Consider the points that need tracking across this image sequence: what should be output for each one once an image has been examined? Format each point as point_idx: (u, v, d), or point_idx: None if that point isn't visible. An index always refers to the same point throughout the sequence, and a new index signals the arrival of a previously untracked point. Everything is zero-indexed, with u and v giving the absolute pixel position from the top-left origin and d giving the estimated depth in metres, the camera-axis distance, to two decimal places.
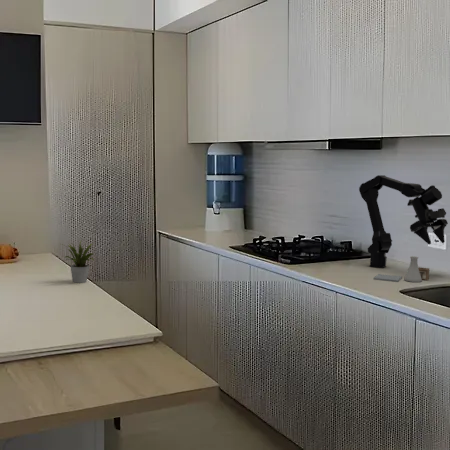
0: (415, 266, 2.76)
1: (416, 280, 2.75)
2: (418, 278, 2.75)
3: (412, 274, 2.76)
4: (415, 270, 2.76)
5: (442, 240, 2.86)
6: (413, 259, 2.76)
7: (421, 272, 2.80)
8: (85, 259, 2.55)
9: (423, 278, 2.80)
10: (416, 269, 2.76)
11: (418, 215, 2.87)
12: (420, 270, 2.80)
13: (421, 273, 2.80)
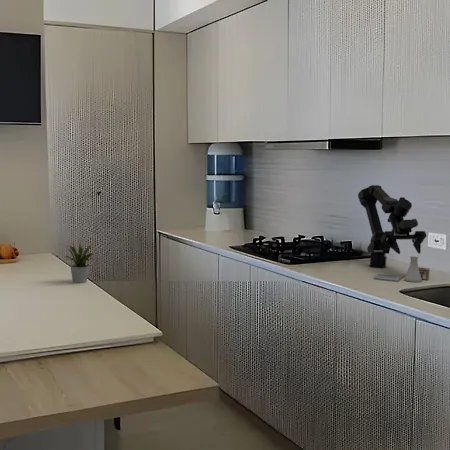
0: (415, 266, 2.76)
1: (416, 280, 2.75)
2: (418, 278, 2.75)
3: (412, 274, 2.76)
4: (415, 270, 2.76)
5: (418, 251, 2.82)
6: (413, 259, 2.76)
7: (421, 272, 2.80)
8: (85, 259, 2.55)
9: (423, 278, 2.80)
10: (416, 269, 2.76)
11: (393, 228, 2.89)
12: (420, 270, 2.80)
13: (421, 273, 2.80)
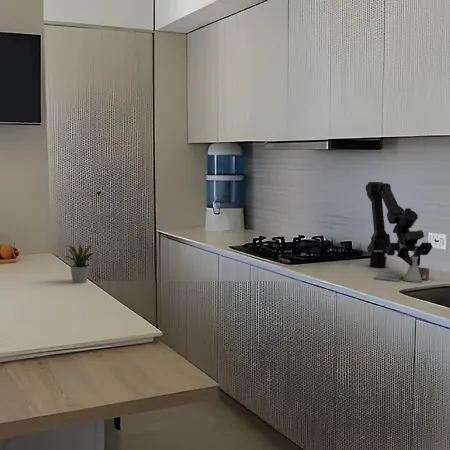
0: (415, 266, 2.76)
1: (416, 280, 2.75)
2: (418, 278, 2.75)
3: (412, 274, 2.76)
4: (415, 269, 2.76)
5: (418, 263, 2.77)
6: (413, 259, 2.76)
7: (421, 272, 2.80)
8: (85, 259, 2.55)
9: (423, 278, 2.80)
10: (416, 269, 2.76)
11: (398, 240, 2.84)
12: (420, 270, 2.80)
13: (421, 273, 2.80)
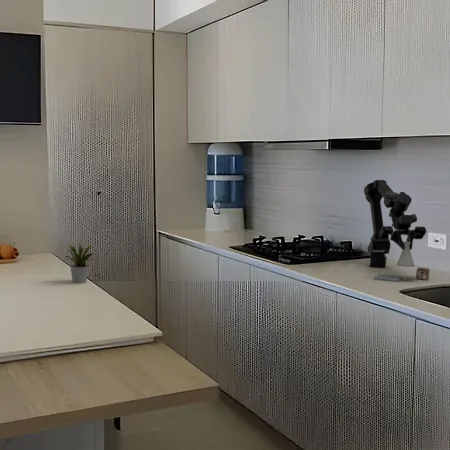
0: (407, 251, 2.76)
1: (408, 265, 2.75)
2: (410, 263, 2.75)
3: (404, 259, 2.76)
4: (408, 254, 2.76)
5: (410, 247, 2.77)
6: (405, 244, 2.76)
7: (421, 272, 2.80)
8: (85, 259, 2.55)
9: (423, 278, 2.80)
10: (408, 254, 2.76)
11: (393, 223, 2.85)
12: (420, 270, 2.80)
13: (421, 273, 2.80)
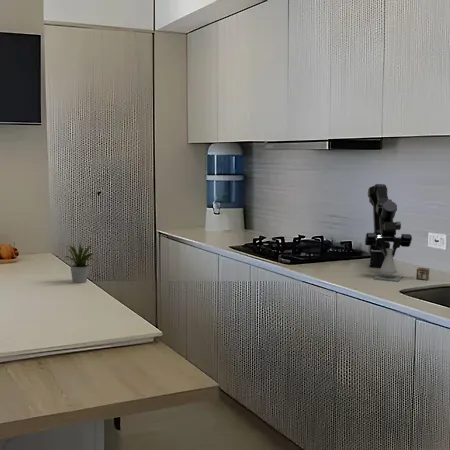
0: (389, 258, 2.79)
1: (389, 272, 2.78)
2: (391, 270, 2.78)
3: (385, 266, 2.79)
4: (389, 261, 2.79)
5: (393, 254, 2.80)
6: (387, 251, 2.79)
7: (421, 272, 2.80)
8: (85, 259, 2.55)
9: (423, 278, 2.80)
10: (390, 261, 2.79)
11: (380, 230, 2.88)
12: (420, 270, 2.80)
13: (421, 273, 2.80)
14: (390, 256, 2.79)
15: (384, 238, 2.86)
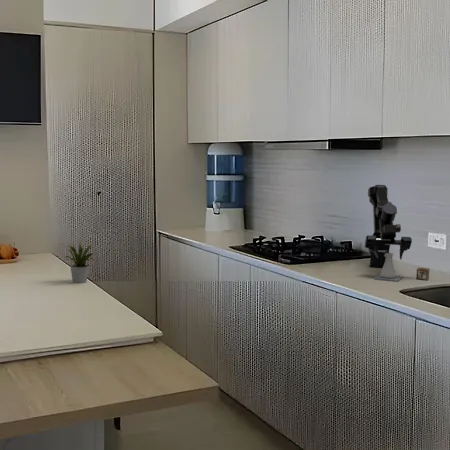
0: (389, 262, 2.79)
1: (389, 276, 2.78)
2: (391, 274, 2.78)
3: (385, 271, 2.79)
4: (389, 266, 2.79)
5: (400, 257, 2.79)
6: (387, 255, 2.79)
7: (421, 272, 2.80)
8: (85, 259, 2.55)
9: (423, 278, 2.80)
10: (390, 265, 2.79)
11: (380, 233, 2.88)
12: (420, 270, 2.80)
13: (421, 273, 2.80)
14: (390, 261, 2.79)
15: (384, 241, 2.86)
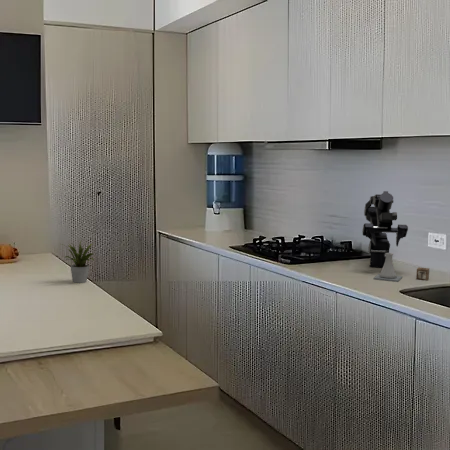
0: (389, 262, 2.79)
1: (389, 276, 2.78)
2: (391, 274, 2.78)
3: (385, 271, 2.79)
4: (389, 266, 2.79)
5: (396, 243, 2.88)
6: (387, 255, 2.79)
7: (421, 272, 2.80)
8: (85, 259, 2.55)
9: (423, 278, 2.80)
10: (390, 265, 2.79)
11: (377, 221, 2.97)
12: (420, 270, 2.80)
13: (421, 273, 2.80)
14: (390, 261, 2.79)
15: None
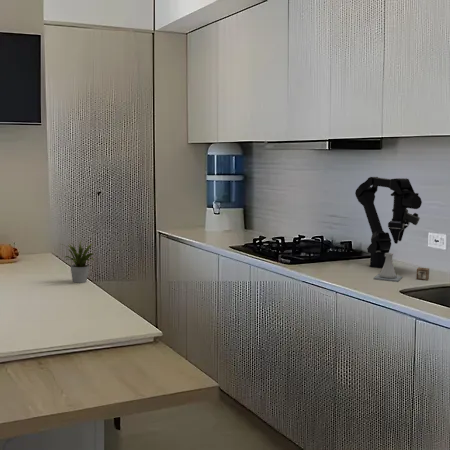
0: (389, 262, 2.79)
1: (389, 276, 2.78)
2: (391, 274, 2.78)
3: (385, 271, 2.79)
4: (389, 266, 2.79)
5: (400, 239, 3.01)
6: (387, 255, 2.79)
7: (421, 272, 2.80)
8: (85, 259, 2.55)
9: (423, 278, 2.80)
10: (390, 265, 2.79)
11: (396, 211, 2.93)
12: (420, 270, 2.80)
13: (421, 273, 2.80)
14: (390, 261, 2.79)
15: None
